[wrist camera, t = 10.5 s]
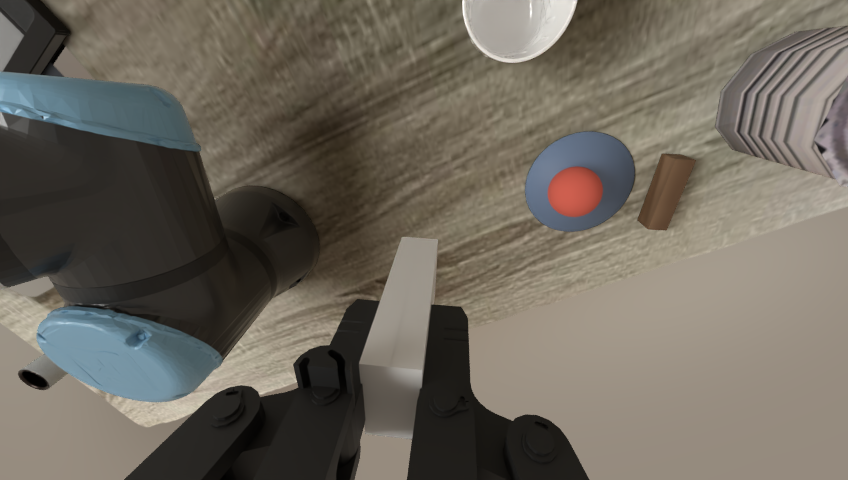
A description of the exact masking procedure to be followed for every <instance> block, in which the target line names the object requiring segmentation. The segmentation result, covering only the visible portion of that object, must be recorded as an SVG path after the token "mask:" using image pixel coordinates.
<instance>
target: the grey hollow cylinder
mask: <svg viewBox="0 0 848 480" xmlns="http://www.w3.org/2000/svg"><path fill="white" fill-rule="evenodd" d="M66 374H68V373H67V372H65V371H64V370H63V369H61V368H60V367H59V366H57V365H56V364H55V363H54V362H53V361H52V360H50V359H49V358H48V357H47V356H46V355H45V353H44V354H43V355H42V356H40V357H39V358H37V359H36V360H34V361H33V362H31V363H30V364H28V365H27V366H25V367H24V368H23V369H21V370H20V371H19V372H18V375H19V378H20V379H21V380H22V381H23V382H24V383H26V384H27V385H29V386H30V387H33V388H35V389H39V390H46V389H48V388H50V387H51V386H52V385H54V384H55V383H56V382H58V381H59V380H60V379H62V378H63V377H64V376H65V375H66Z"/></svg>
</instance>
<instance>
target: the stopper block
mask: <svg viewBox="0 0 848 480" xmlns="http://www.w3.org/2000/svg"><path fill="white" fill-rule="evenodd" d="M695 162H696V160H694V159H691V158H689V157H686V156H683V155H677V154H662V155H661V158H660V161H659V163H658V166H657V169H656V171H655V174H654V177H653V180H652V182H651V185H650V188H649V190H648V193H647V196H646V199H645V201H644V204H643V207H642V209H641V212H640V215H639V217H638V221H639V222H640V223H641V224H643V225H644V226H645V227H646V228H647V229H653V230H667V228H668V226H669V223H670V221H671V218H672V216H673V214H674V211H675V209H676V207H677V204H678V202H679V200H680V197H681V195H682V192H683V190H684V188H685V185H686V183H687V181H688V178H689V176H690V173H691V171H692V169H693V166H694V164H695Z"/></svg>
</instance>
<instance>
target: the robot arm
mask: <svg viewBox="0 0 848 480" xmlns="http://www.w3.org/2000/svg"><path fill="white" fill-rule="evenodd" d="M199 151H201V146H200V145H199V144H198V143H196V141H195V138H194V135H193V133H192V130H191V127H190V125H189V122H188V119H187V117H186V114H185V111H184V109H183V107H182V105H181V104H180V102H179V101H178V100H177V99H176V98H175V97H174V96H173V95H172V94H170V93H169V92H167V91H166V90H163V89H161V88H159V87H156V86H151V85H144V84H133V83H122V82H112V81H101V80H89V79H78V78H68V77H57V76H46V75H35V74H24V73H13V72H0V289H5V288H9V287H11V286H15V285H18V284H21V283H25V282H28V281H31V280H34V279H38V278H42V277H46V276H48V277H49V279H50V280H51V282H52V283H53V285H54V286H55V288H56V289H57V291H58V293H59V294H60V296H61V297H62V299H63V301H64V303H65V305H64V307H60V308H58V309H55V310H53V311H51V312H50V313H49V314H48V315H47V318H46V319H45V320H43V321H42V322H41V323H40V324H39V326H38V330H37V331H38V333H37V342H38V344H39V346H40V348H41V349H42V351H43V352H44V353H45V355H46V356H47V357H48V358H49V359H50V360H52V361H53V362H54V363H55V364H56V365H57V366H59V367H60V368H61V369H63V370H64V371H65V372H67V373H69V374H70V375H72V376H73V377H75V378H77V379H79V380H80V381H82V382H84V383H86V384H88V385H90V386H93V387H95V388H97V389H100V390H102V391H104V392H107V393H110V394H113V395H116V396H120V397H123V398H128V399H132V400H138V401H145V402H167V401H172V400H176V399H179V398H182V397H184V396H187V395H188V394H190V393H191V392H193V391H194V390H195V389H196V388H197V387H198V386H199V385H200V384H201V383H202V382H203V381H204V380H205V379H206V378H207V377H208V376H209V374H210V373H211V372H212V371H213V370H214V369H216V368H218V367H219V366H220V365H221V364H222V362H223V360H224V359H225V357H226V356H227V355H228V354H229V352H230V351H231V350H232V348H233V347H234V346H235V345H236V343H237V342H238V341H239V340H240V338H241V337H242V336H243V335H244V333H245V332H246V331H247V329H248V328H249V327H250V326H251V324H252V323H253V322H254V321H255V319H256V318H257V317H258V316H259V314H260V313H261V312H262V310H263V309H264V308H265V307H266V305H267V304H268V303H269V302H270V300H271V299H272V298H274V297H276V296H278V295H279V294H281V293H283V292H285V291H287V290H288V289H290V288H292V287H294V286H296V285H297V284H299V283H300V282H302V281H303V280H304V279H305V278H306V277H307V275H308V274H309V273H310V271H311V270H312V269H313V267H314V266H315V264H316V262H317V259H318V256H319V239H318V235H317V232H316V229H315V227H314V225H313V223H312V221H311V220H310V218H309V217H308V215H307V214H306V213H305V212H304V211H303V209H302V208H301V207H300V206H298V205H297V204H296V203H295V202H294V201H292V200H291V199H290V198H288V197H287V196H285V195H283V194H281V193H279V192H277V191H274V190H272V189H269V188H265V187H259V186H244V187H239V188H236V189H234V190H231V191H230V192H228V193H226V194H224V195H222V196H220V197H219V198H217V199H216V200H214V197H213V194H212V190H211V187H210V184H209V181H208V178H207V175H206V171H205V168H204V165H203V162H202V159H201V156H200V153H199ZM437 250H438V239H428V238H414V237H402V238H401V241H400V244H399V247H398V250H397V253H396V256H395V259H394V262H393V265H392V268H391V270H390V273H389V276H388V279H387V282H386V285H385V288H384V291H383V294H382V297H381V300H380V301H373V300H361V299H357V300H356V301H355V302H354V303H353V304H352V305H350V306H349V307H348V308H347V309H346V312H345V314H344V316H343V318H342V321H341V322H340V324H339V327H338V329H337V332H336V333H335V335H334V337H333V339H332V341H331V344H330V345H327V346H319V347H316V348H313V349H310V350H308V351H307V352H305V353H304V354H302V355H301V356H300V357H299V358H298V359H297V360H296V362H295V363H294V364H293V366H294V370H295V374H296V379H297V383H298V388H297V389H294V390H292V391H288V392H285V393H279V394H274V395H269V396H264V397H260V396H259V394H258V392H257V391H256V390H255V389H253V388H252V387H249V386H242V385H241V386H235V387H230V388H227V389H225V390H223V391H221V392H218V393H217V394H215V395H214V396H213V397H211V398H210V399H209V400H207V401H206V402H205V403H204V404H203V405H202V406H201V407H200V408H199V409H198V410H196V411H195V412H194V413H193V414H192V415H191V416H190V417H189V418H188V419H187V420H186V421H185V422H184V423H183V424H182V425H181V426H180V427H179V428H178V429H177V430H176V431H175V432H173V433H172V435H170V436H169V437H168V438H167V439H166V440H165V441H164V442H163V443H162V444H161V445H160V446H159V447H158V448H157V449H156V450H155V451H154V452H153V453H151V455H149V456H148V458H146V459H145V460H144V461H143V462H142V463H141V464H140V465H139V466H138V467H137V468H136V469H135V470H134V471H133V472H132V473H131V474H130V475H128V477H126V478H125V479H124V480H354V479H355V475H356V471H357V467H358V463H359V459H360V439H361V435H362V431H363V428H364V425H365V434H370V435H378V436H387V437H396V438H405V439H412V446H411V453H410V461H409V468H408V477H407V480H589V478H588V477H587V475H586V473H585V471H584V469H583V467H582V465H581V463H580V462H579V459H578V458H577V456H576V454H575V452H574V450H573V448H572V446H571V444H570V443H569V441H568V439H567V438H566V436H565V435H564V434H563V432H562V431H561V430H560V428H558V427H557V426H556V425H554V424H553V423H552V422H551V421H549V420H547V419H545V418H543V417H540V416H537V415H523V416H520V417H517V418H515V419H514V421H511V420H509V419H506V418H504V417H502V416H499V415H497V414H495V413H493V412H491V411H489V410H488V409H486V408H485V407H484V406H483V405H482V404H480V403H479V401H478V400H477V399H476V397H475V396H474V394H473V392H472V389H471V384H470V366H469V365H470V364H469V343H468V342H469V338H468V318H467V316H466V314H465V313H464V311H463V309H462V308H461V307H456V306H444V305H434V298H435V285H436V268H437Z"/></svg>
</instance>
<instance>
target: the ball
mask: <svg viewBox="0 0 848 480" xmlns="http://www.w3.org/2000/svg"><path fill="white" fill-rule="evenodd" d="M602 194H603V186H602V182H601V180H600V178H599V177H598V175H597V174H596V173H594V172H593V171H592V170H590V169H588V168H585V167H578V166H576V167H569V168H566V169H564V170H562V171H560V172H559V173H557V174H556V175H555V176H554V177H553V179H552V180H551V182H550V184H549V187H548V199H549V202H550V204H551V206H552V207H553V209H554V210H556V211H557V212H558V213H560V214H562V215H564V216H568V217H579V216H583V215H586V214H588V213H590V212H591V211H592V210H594V209H595V208H596V207H597V205H598V204H599V202H600V201H601V198H602Z"/></svg>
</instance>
